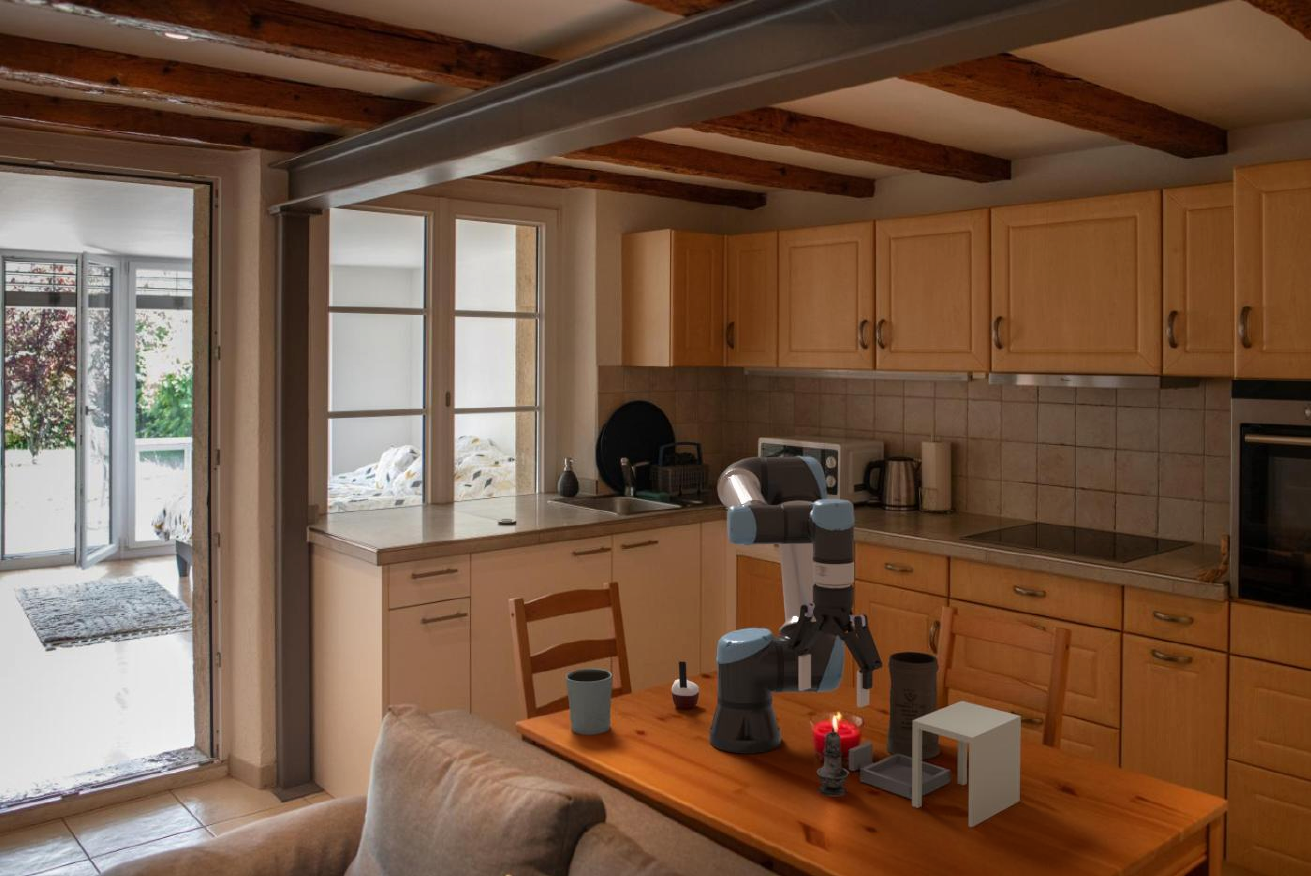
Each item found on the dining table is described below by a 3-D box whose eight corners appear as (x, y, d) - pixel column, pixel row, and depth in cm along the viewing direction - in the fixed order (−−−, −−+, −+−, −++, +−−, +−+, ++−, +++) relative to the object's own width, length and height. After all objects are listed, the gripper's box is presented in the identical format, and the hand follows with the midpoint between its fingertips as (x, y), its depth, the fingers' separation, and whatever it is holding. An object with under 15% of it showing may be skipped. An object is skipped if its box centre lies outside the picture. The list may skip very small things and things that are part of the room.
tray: (839, 773, 202) (839, 753, 201) (876, 757, 210) (876, 738, 209) (913, 799, 189) (913, 778, 189) (950, 781, 197) (950, 761, 197)
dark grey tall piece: (813, 785, 197) (813, 722, 196) (843, 783, 197) (844, 721, 196) (821, 797, 191) (821, 733, 190) (852, 796, 191) (852, 732, 190)
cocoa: (682, 701, 248) (681, 651, 248) (706, 704, 245) (705, 653, 245) (662, 711, 240) (661, 659, 240) (686, 714, 237) (685, 662, 237)
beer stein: (942, 763, 207) (942, 662, 207) (886, 759, 209) (887, 659, 209) (937, 741, 222) (937, 647, 222) (885, 737, 224) (886, 645, 224)
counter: (912, 805, 187) (912, 720, 186) (961, 781, 197) (961, 700, 196) (971, 827, 178) (972, 737, 177) (1019, 800, 189) (1020, 715, 187)
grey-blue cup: (621, 729, 228) (620, 676, 227) (581, 739, 222) (580, 684, 221) (597, 717, 236) (596, 665, 235) (558, 726, 231) (557, 673, 230)
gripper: (768, 577, 198) (769, 686, 199) (876, 597, 180) (876, 717, 181) (794, 571, 203) (794, 678, 204) (902, 590, 185) (901, 708, 186)
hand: (833, 697), depth 193 cm, fingers open, 13 cm apart
